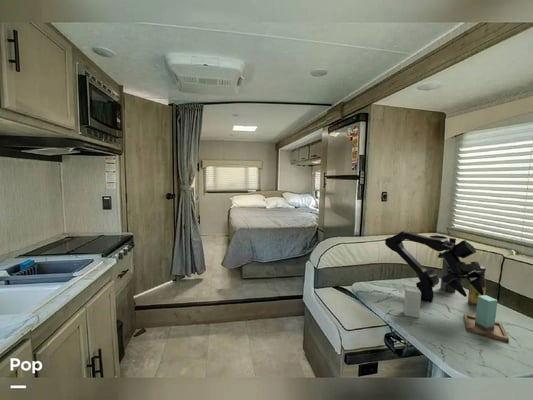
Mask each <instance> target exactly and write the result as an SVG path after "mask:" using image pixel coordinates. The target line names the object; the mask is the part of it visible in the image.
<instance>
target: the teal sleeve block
mask: <svg viewBox="0 0 533 400" xmlns="http://www.w3.org/2000/svg"><path fill="white" fill-rule="evenodd" d="M497 307H498V300H497V299H496V298H493V297H491V296H489V295H487V294H485V295H484V296H478V300H477V306H476V311H475V317H476V318H475V325H476V326H478V327H479V328H481V329H483V330H485V331H490V330H494V327H495V321H496V315H497V310H498V309H497Z"/></svg>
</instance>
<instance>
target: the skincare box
mask: <svg viewBox="0 0 533 400" xmlns="http://www.w3.org/2000/svg"><path fill="white" fill-rule="evenodd" d="M403 299H404V301H403V313H404V316H406V317H412V318H417V319H418V318H420V316H421V315H420V314H421V301H422V300H421V292H420V290H419V289H418V288H413V287H406V286H404V298H403Z"/></svg>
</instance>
